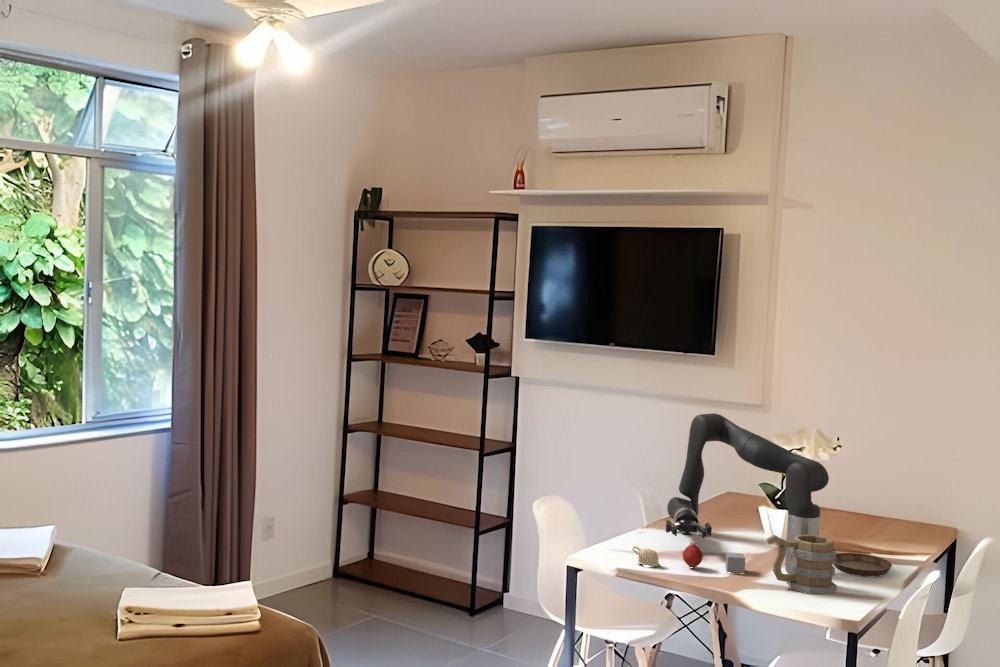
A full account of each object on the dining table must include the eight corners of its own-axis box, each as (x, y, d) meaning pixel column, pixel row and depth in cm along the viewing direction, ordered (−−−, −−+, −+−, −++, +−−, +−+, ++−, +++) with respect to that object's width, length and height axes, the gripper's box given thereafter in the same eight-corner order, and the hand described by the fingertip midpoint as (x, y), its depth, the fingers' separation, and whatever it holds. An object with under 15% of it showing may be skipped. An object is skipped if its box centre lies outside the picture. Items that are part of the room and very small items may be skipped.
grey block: (742, 570, 294) (743, 553, 294) (744, 574, 289) (745, 558, 289) (725, 568, 295) (726, 552, 295) (727, 573, 290) (728, 556, 290)
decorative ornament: (657, 569, 292) (658, 551, 292) (630, 565, 295) (631, 547, 295) (661, 565, 296) (661, 548, 295) (634, 561, 299) (635, 544, 299)
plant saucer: (883, 583, 286) (883, 572, 286) (822, 571, 296) (822, 561, 296) (897, 569, 301) (898, 560, 301) (839, 559, 311) (839, 549, 311)
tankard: (824, 581, 285) (827, 530, 284) (841, 595, 273) (844, 541, 272) (757, 579, 284) (759, 528, 284) (770, 593, 272) (773, 540, 271)
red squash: (688, 564, 298) (689, 538, 297) (705, 568, 294) (706, 542, 294) (678, 568, 293) (679, 541, 293) (696, 572, 290) (697, 545, 289)
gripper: (664, 508, 321) (667, 520, 305) (709, 511, 320) (713, 523, 304) (663, 530, 322) (666, 544, 306) (707, 533, 320) (712, 547, 304)
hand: (689, 533), depth 305 cm, fingers open, 8 cm apart
